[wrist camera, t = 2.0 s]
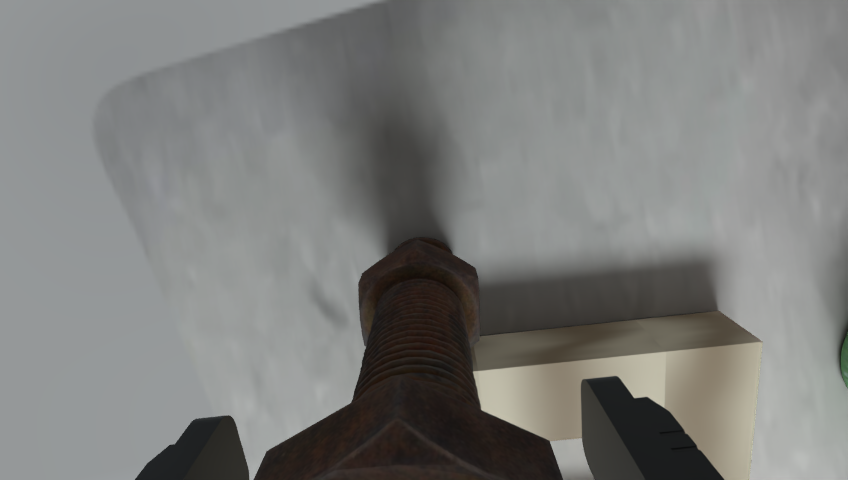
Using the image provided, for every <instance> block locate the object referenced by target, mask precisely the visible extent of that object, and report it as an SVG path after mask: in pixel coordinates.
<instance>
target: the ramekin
mask: <svg viewBox="0 0 848 480" xmlns="http://www.w3.org/2000/svg"><path fill="white" fill-rule="evenodd" d="M841 371H842V376H843V379H844V381H845V384H846V386H847V388H848V333H847V335H846V338H845V340H844V343H843V347H842V352H841Z"/></svg>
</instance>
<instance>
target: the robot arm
mask: <svg viewBox="0 0 848 480" xmlns="http://www.w3.org/2000/svg"><path fill="white" fill-rule="evenodd" d="M581 419H582V442H583V447H584V452H585V456H586V459H587V462H588V465H589V468H590V470H591V472H592V474H593V476H594V479H595V480H724V478H723V477H722V476H721V475H720V473H719V472H718V471H717V470H716V468H715V467H714V466H713V465H712V464H711V462H710V461H709V460H708V459H707V457H706V456H705V455H704V454H703V452H702V451H701V450H698V448H697V445H696V444H695V442H694V441H693V440H692V439H691V437H690V436H689V435H688V434H685V430H684V429H683V428H682V426H681V425H680V424H679V423H678V421H677V420H676V419H675V418H674V416H673V415H672V414H671V413H670V411H668V410H667V409H665V408H664V407H662V406H660V405H659V404H657V403H656V402H654V401H653V400H651V399H650V398H648V397H641V398H634V397H633V396H632V394H631V393H630V392H629V390H628V389H627V387H626V386H625V385H624V383H623V382H622V380H621V379H620V378H619V377H618V376H610V377H600V378H591V379H583V380H582V382H581ZM135 480H249V470H248V466H247V462H246V459H245V455H244V452H243V448H242V445H241V441H240V438H239V434H238V431H237V427H236V424H235V421H234V419H233V418H232V417H231V416H229V415H228V416H218V417H209V418H201V419H200V418H199V419H195V420H193V421H192V422H191V423H190V425H189V426H188V427H187V429H186V430H185V431H184V433H183V434H182V436H181V437H180V438H179V440H178V441H177V442H176V444H175V445H169V446H168V447H167V448H166V449H164V450H163V451H162V452H161V453H160V454H158V455H157V456H156V457H155V458H154V459H152V460H151V461H150V462H149V463H147V465H146V466H145V467H144V469H143V470H142V471H141V472H140V474H139V475H138V476H137V478H136V479H135Z"/></svg>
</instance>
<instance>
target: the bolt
mask: <svg viewBox="0 0 848 480" xmlns="http://www.w3.org/2000/svg"><path fill="white" fill-rule="evenodd" d="M358 285H359V310H360V322H361V329H362V336H363V340H364V345H365V346H366V349H365V352H364V357H363V360H362V367H361V371H360V375H359V379H358V382H357V385H356V388H355V391H354V396H353V400H352V402H351V403H350V404H349V405H347V406H345V407H343V408H342V409H340V410H338V411H336V412H335V413H333V414H331V415H329V416H328V417H326V418H324V419H322V420H321V421H319V422H317V423H315V424H314V425H312V426H310V427H308V428H307V429H305V430H303V431H301V432H300V433H298V434H296V435H294V436H293V437H291V438H289V439H287V440H286V441H284V442H282V443H280V444H279V445H277V446H275V447H273V448H272V449H270V450H268V451H267V452H266V454H265V456H264V458H263V461H262V463H261V465H260V467H259V469H258V471H257V474H256V476H255V478H254V480H563V478H562V475H561V472H560V470H559V467H558V464H557V461H556V458H555V455H554V453H553V450H552V447H551V444H550V441H549V440H547V439H545V438H543V437H540V436H538V435H536V434H534V433H531V432H529V431H527V430H525V429H522V428H520V427H518V426H516V425H514V424H511V423H509V422H507V421H505V420H502V419H500V418H498V417H496V416H493V415H491V414H489V413H487V412H484V411H482V410H481V404H480V400H479V397H478V390H477V386H476V382H475V378H474V374H473V361H472V354H471V347H472V346H473V345H475V344H476V343H477V342H478V341H479V338H480V303H479V285H478V276H477V273H476V269H475V268H474V267H473V266H471V265H470V264H468V263H466V262H465V261H463V260H462V259H460V258H458V257H456V256H454V255H453V254H452V252H451V250H450V249H449V248H448V247H447V246H446V245H445V244H444V243H442V242H440V241H438V240H436V239H430V238H414V239H410V240H408V241H406V242H404V243H402V244H401V245H400V246H398V247H397V248H396V249H395V251H394V252H392V253H390V254H389V255H387V256H386V257H384V258H383V259H381V260H380V261H378V262H377V263H376V264H374V265H373V266H372V267H370V268H369V269H368V270H366V271H365V272H364V273H362V276H361V279H360V281H359V284H358Z"/></svg>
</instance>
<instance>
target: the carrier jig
mask: <svg viewBox="0 0 848 480" xmlns="http://www.w3.org/2000/svg"><path fill="white" fill-rule="evenodd" d="M762 344H763V342H762V341H761V340H759V339H758V338H757V337H755V336H754V335H752V334H751V333H749V332H748V331H747V330H745V329H744V328H742V327H741V326H740V325H738V324H737V323H735V322H734V321H732V320H731V319H730V318H728V317H727V316H725V315H724V314H722V313H721V312H720V311H713V312H704V313H694V314H685V315H675V316H666V317H657V318H647V319H638V320H628V321H619V322H609V323H600V324H591V325H581V326H572V327H562V328H553V329H544V330H534V331H525V332H515V333H506V334H497V335H487V336H480V338H479V341H478V342H477V343H476V344H475V345H473V346H472V347H471V354H472V361H473V374H474V378H475V382H476V386H477V390H478V397H479V400H480V404H481V410H482V411H484V412H487V413H489V414H491V415H493V416H496V417H498V418H500V419H502V420H505V421H507V422H509V423H511V424H514V425H516V426H518V427H520V428H522V429H525V430H527V431H529V432H531V433H534V434H536V435H538V436H540V437H543V438H545V439H547V440H549V441H557V440H567V439H578V438H582V419H581V382H582V380H583V379H591V378H600V377H610V376H618V377H619V378H620V379H621V380H622V382H623V383H624V385H625V386H626V387H627V389H628V390H629V392H630V393H631V394H632V396H633V397H634V398H641V397H648V398H650V399H651V400H653V401H654V402H656V403H657V404H659V405H660V406H662V407H664V408H665V409H667V410H668V411H670V413H671V414H672V415H673V416H674V418H675V419H676V420H677V421H678V423H679V424H680V425H681V426H682V428H683V429H684V430H685V434H688V435H689V436H690V437H691V439H692V440H693V441H694V442H695V444H696V445H697V448H698V450H701V451H702V452H703V454H704V455H705V456H706V457H707V459H708V460H709V461H710V462H711V464H712V465H713V466H714V467H715V468H716V470H717V471H718V472H719V473H720V475H721V476H722V477H723V478H724V480H749V477H750V467H751V456H752V446H753V436H754V426H755V415H756V405H757V395H758V385H759V374H760V364H761V354H762Z"/></svg>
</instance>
